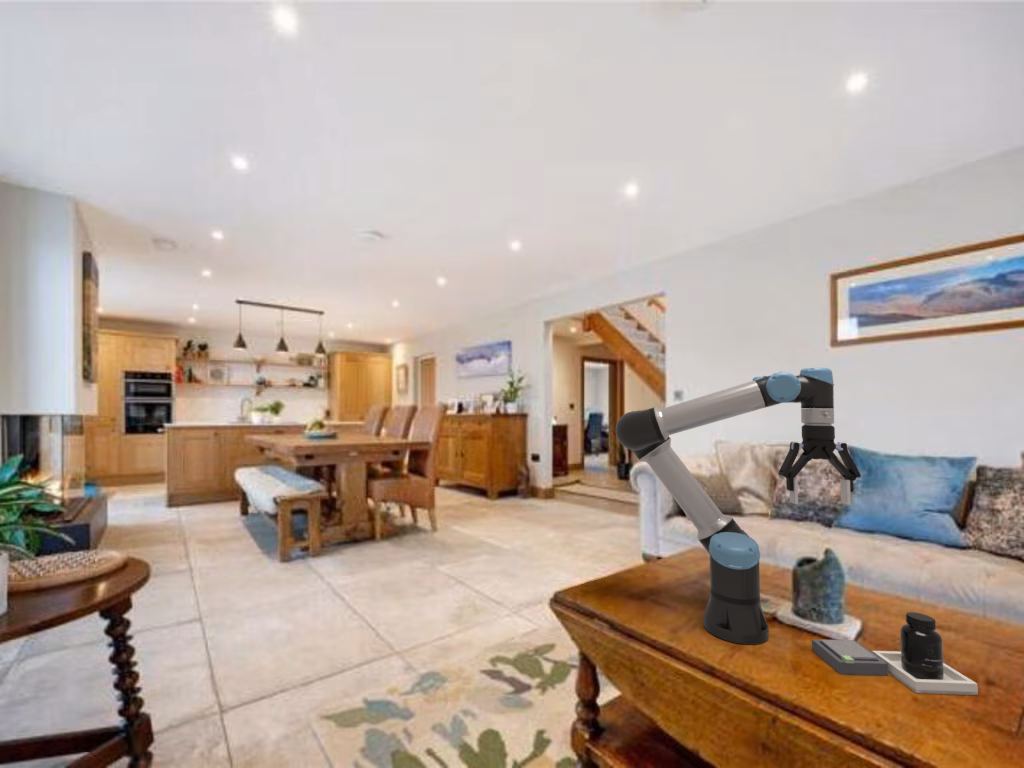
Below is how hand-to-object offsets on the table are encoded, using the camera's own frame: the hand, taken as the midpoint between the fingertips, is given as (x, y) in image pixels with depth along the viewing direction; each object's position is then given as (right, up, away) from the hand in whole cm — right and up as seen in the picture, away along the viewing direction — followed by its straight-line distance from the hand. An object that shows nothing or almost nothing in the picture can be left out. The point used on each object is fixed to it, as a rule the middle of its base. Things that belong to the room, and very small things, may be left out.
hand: (819, 503), depth 125 cm
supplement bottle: (+5, -30, -26) cm, 40 cm away
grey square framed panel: (-7, -31, -20) cm, 37 cm away
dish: (+5, -30, -26) cm, 40 cm away
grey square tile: (-7, -29, -20) cm, 36 cm away
